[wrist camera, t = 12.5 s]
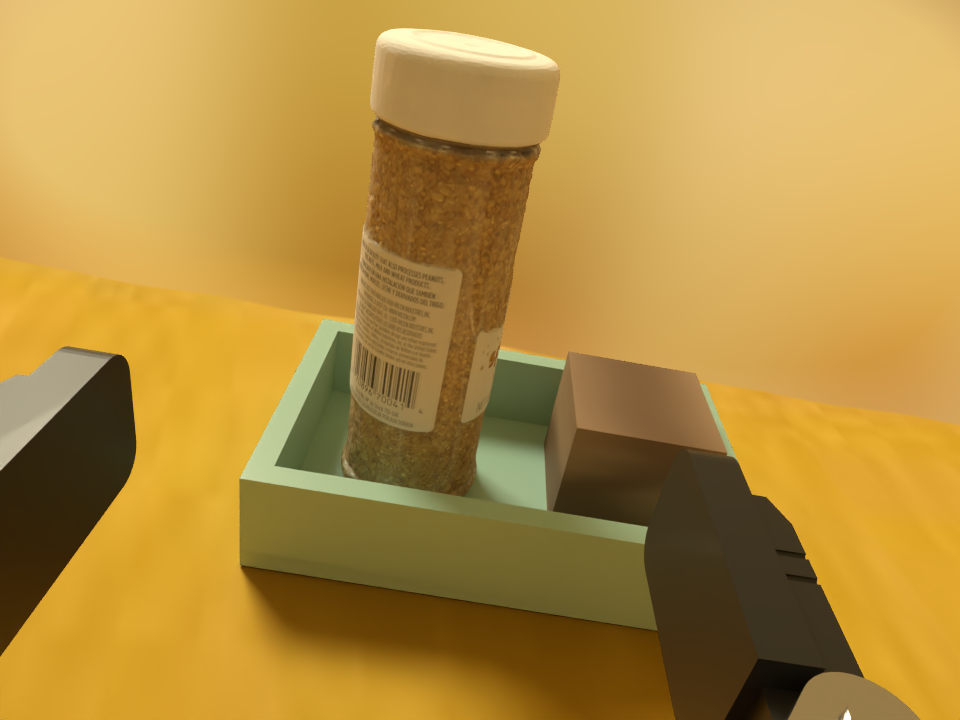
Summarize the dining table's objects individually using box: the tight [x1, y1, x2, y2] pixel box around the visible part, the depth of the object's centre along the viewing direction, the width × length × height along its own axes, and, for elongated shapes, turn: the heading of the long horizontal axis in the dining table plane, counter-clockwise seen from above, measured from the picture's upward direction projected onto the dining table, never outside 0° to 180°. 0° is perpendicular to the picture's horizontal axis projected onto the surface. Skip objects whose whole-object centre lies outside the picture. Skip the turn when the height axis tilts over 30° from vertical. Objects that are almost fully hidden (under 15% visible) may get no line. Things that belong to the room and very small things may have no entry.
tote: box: [240, 319, 738, 631], centre depth 24 cm, size 15×9×3 cm, turn 87°
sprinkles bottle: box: [341, 29, 560, 497], centre depth 21 cm, size 5×5×14 cm
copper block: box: [544, 352, 727, 527], centre depth 24 cm, size 4×4×4 cm
